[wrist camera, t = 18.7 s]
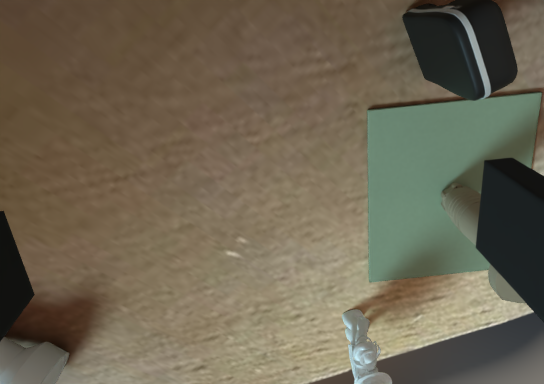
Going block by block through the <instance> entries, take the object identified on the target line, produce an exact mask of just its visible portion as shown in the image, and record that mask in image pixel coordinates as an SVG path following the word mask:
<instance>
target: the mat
mask: <svg viewBox="0 0 544 384" xmlns="http://www.w3.org/2000/svg"><path fill="white" fill-rule="evenodd" d="M541 96H542V92H533V93H524V94H514V95H504V96H495V97H486V98H484V99H479V100H476V101H472V100H468V99H466V100H456V101H447V102H437V103H428V104H418V105H409V106H399V107H389V108H380V109H370V110H367V115H368V226H369V282H378V281H388V280H397V279H406V278H416V277H425V276H435V275H444V274H453V273H463V272H472V271H481V270H489V267H490V263H489V262H488V261H487V260H486V259H485V258H484V256H483V255H482V254H481V253H480V252H479V251H478V250H477V249H476V245H475V244H473V243H472V242H471V241H470V240H469V239H468V238H467V237H466V236H464V235H463V233H462V232H461V231H460V230H459V229H458V228H457V227H456V226H455V225H454V223H453V222H452V220H451V219H450V217H449V216H448V214H447V212H446V211H445V210H444V209H443V207H442V205H441V202H442V197H441V195H440V194H441V192H442V191H444V190H446V189H447V188H448V187H449V186H450V185H451V184H452V183H459V184H461V185H462V186H467V187H470V188H471V189H473V190H475V191H476V192H478V193H480V194H481V189H482V179H483V169H484V160H493V159H502V158H514V159H516V160H517V161H519V162H521V163H522V164H524V165H526V166H527V167H529V168H531V165H532V158H533V151H534V144H535V137H536V131H537V124H538V117H539V110H540V103H541Z"/></svg>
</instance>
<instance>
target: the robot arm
mask: <svg viewBox="0 0 544 384" xmlns="http://www.w3.org/2000/svg"><path fill="white" fill-rule="evenodd" d="M476 249H477V250H478V251H479V252H480V253H481V254H482V255H483V256H484V258H485V259H486V260H487V261H488V262H489V263H490V264H491V265H492V266H493V267H494V268H495V270H496V271H497V272H498V273H499V274H500V275H501V276H502V277H503V278H504V279H505V280H506V282H507V283H508V284H509V285H510V286H511V287H512V288H513V289H514V290H515V291H516V293H517V294H518V295H519V296H520V297H521V298H522V299H523V300H524V301H525V302H526V303H527V305H528V306H529V307H530V308H531V309H532V310H533V311H534V312H535V313H536V314H537V315H538V317H539V318H540V319H541V320H542V321H543V322H544V176H542V175H541V174H539V173H537V172H536V171H534V170H532V169H531V168H529V167H527V166H526V165H524V164H522V163H521V162H519V161H517V160H516V159H514V158H502V159H493V160H484V169H483V179H482V189H481V199H480V208H479V218H478V228H477V238H476ZM34 295H35V294H34V292H33V289H32V286H31V284H30V281H29V278H28V275H27V273H26V270H25V267H24V265H23V262H22V259H21V257H20V254H19V251H18V249H17V246H16V243H15V240H14V238H13V235H12V232H11V230H10V227H9V224H8V222H7V219H6V216H5V213H4V211H0V341H1V340H2V339H3V337H4V336H5V335H6V333H7V332H8V330H9V329H10V328H11V326H12V325H13V324H14V322H15V321H16V320H17V318H18V317H19V315H20V314H21V313H22V311H23V310H24V309H25V307H26V306H27V304H28V303H29V302H30V300H31V299H32V298H33V296H34Z"/></svg>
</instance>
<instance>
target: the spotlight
mask: <svg viewBox="0 0 544 384" xmlns="http://www.w3.org/2000/svg"><path fill="white" fill-rule="evenodd" d="M68 358H69V353H68V352H66V351H64V350H63V349H61V348H59V347H57V346H55V345H53V344H51V343H49V342H44V343H41V344H37V345H34V346H31V347H28V348H24V347H22V346H21V345H19V344H17V343H15V342H13V341H11V340H9V339H7V338H6V337H3V339H2V340H1V341H0V384H55V383H56V382H57V380H58V378H59V376H60V374H61V372H62V370H63V369H64V367H65V365H66V362H67V360H68Z"/></svg>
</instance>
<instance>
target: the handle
mask: <svg viewBox="0 0 544 384" xmlns="http://www.w3.org/2000/svg"><path fill="white" fill-rule="evenodd" d="M440 195H441V197H442V202H441V205H442V207H443V209H444V210H445V211H446V212H447V214H448V216H449V217H450V219H451V220H452V222H453V223H454V225H455V226H456V227H457V228H458V229H459V230H460V231H461V232H462V233H463V235H464V236H466V237H467V238H468V239H469V240H470V241H471V242H472V243H473V244H475V245H476V238H477V228H478V218H479V208H480V199H481V194H480V193H478V192H476V191H475V190H473V189H471V188H470V187H467V186H462V185H461V184H459V183H452V184H451V185H450V186H449V187H448V188H447V189H446V190H444V191H442V192H441V194H440ZM488 277H489V282H490V285H491V287H492V288H493V290H494V291H495V292H496V293H497V295H498V296H499V297H500V298H501V299H502V300H506V301H511V302H516V303H526V302H525V301H524V300H523V299H522V298H521V297H520V296H519V295H518V294H517V293H516V291H515V290H514V289H513V288H512V287H511V286H510V285H509V284H508V283H507V282H506V280H505V279H504V278H503V277H502V276H501V275H500V274H499V273H498V272H497V271H496V270H495V268H494V267H493V266H492V265H491V264H490V267H489V272H488Z"/></svg>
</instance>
